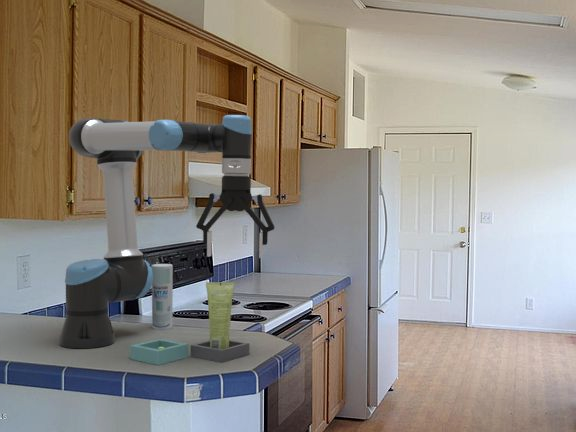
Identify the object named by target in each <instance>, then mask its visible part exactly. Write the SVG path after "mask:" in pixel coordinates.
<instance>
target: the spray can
mask: <svg viewBox="0 0 576 432" xmlns="http://www.w3.org/2000/svg"><path fill="white" fill-rule="evenodd" d="M151 268H152V271H153V281H152V285H151V312H152V313H151V315H152V320H151V322H152V327H151V328H152V329H153V330H155V331H167V330H171V329H173V295H174V294H173V292H174V291H173V286H174V285H173V279H174V278H173V276H174V275H173V272H174V271H173V270H174V269H173V268H174V266H173V264H171V263H155V264H151Z"/></svg>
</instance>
